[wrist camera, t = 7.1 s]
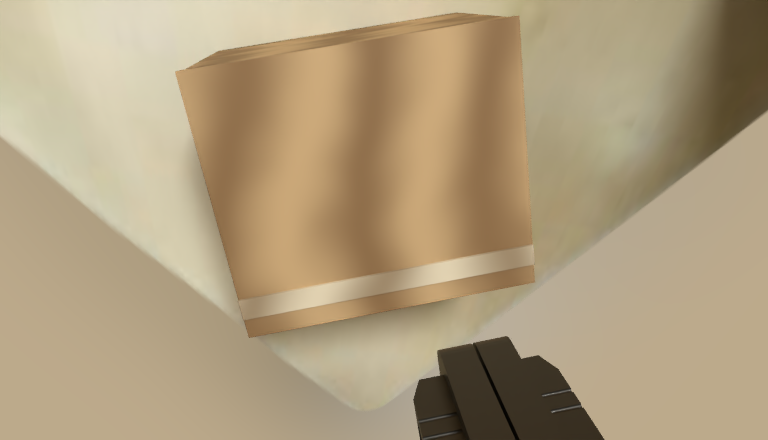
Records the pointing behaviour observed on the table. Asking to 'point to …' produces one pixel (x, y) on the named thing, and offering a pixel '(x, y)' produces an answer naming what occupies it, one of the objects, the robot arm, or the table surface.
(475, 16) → the brown wooden box
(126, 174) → the table surface
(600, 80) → the table surface
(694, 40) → the table surface
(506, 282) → the lid
